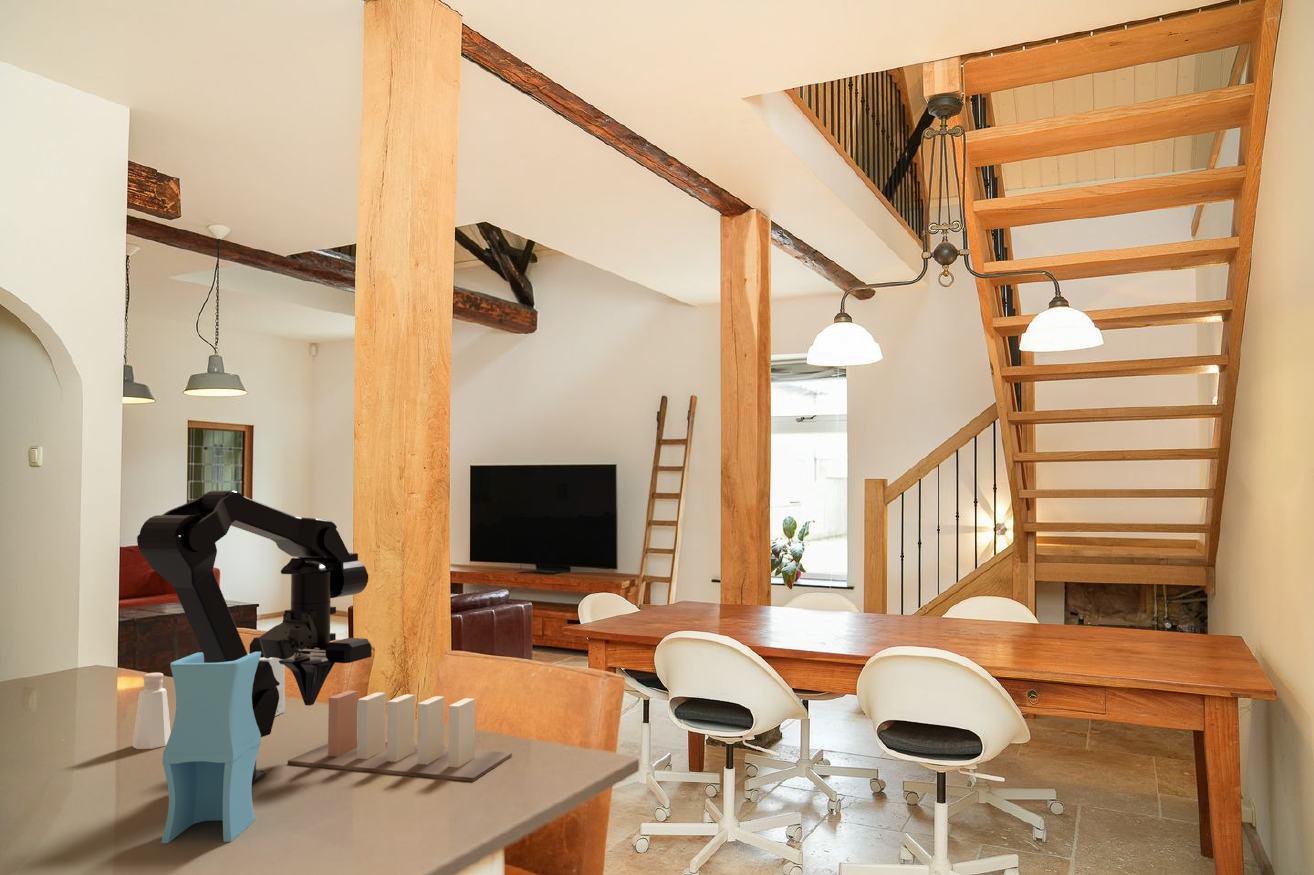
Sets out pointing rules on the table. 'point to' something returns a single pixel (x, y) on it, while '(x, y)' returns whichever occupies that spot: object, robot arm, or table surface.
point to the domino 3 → (431, 730)
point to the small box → (280, 677)
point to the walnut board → (404, 763)
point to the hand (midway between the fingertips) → (309, 705)
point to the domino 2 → (400, 727)
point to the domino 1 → (371, 725)
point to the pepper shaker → (152, 714)
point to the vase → (212, 745)
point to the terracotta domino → (342, 723)
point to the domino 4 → (461, 732)
